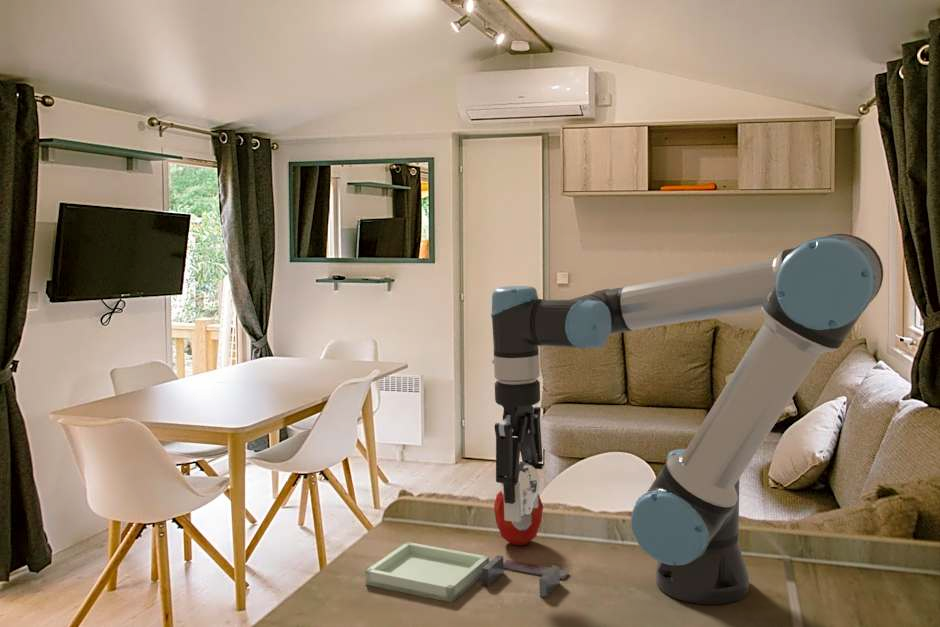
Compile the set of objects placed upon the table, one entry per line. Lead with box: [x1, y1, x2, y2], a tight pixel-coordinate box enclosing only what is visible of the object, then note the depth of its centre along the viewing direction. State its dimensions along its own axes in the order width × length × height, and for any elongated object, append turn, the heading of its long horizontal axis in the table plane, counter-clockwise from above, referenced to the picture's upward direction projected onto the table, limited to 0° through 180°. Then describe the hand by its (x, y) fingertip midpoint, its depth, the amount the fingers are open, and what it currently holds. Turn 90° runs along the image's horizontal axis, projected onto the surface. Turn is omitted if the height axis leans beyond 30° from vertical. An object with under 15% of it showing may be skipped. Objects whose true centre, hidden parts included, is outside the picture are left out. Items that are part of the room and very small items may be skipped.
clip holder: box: [481, 555, 570, 598], centre depth 153 cm, size 12×10×3 cm
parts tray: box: [364, 541, 490, 604], centre depth 155 cm, size 17×14×2 cm
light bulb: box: [498, 460, 542, 531], centre depth 149 cm, size 7×7×12 cm
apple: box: [493, 490, 544, 546], centre depth 169 cm, size 9×9×12 cm
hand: (521, 513), depth 150 cm, fingers closed on light bulb, 6 cm apart
